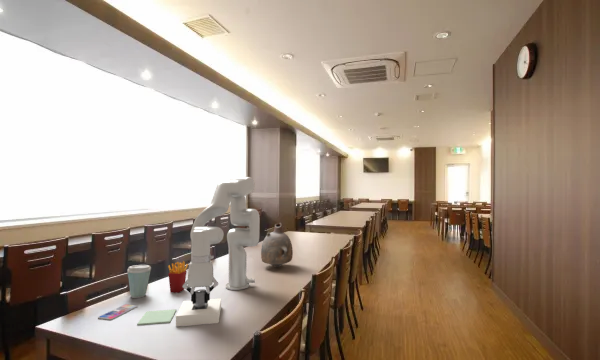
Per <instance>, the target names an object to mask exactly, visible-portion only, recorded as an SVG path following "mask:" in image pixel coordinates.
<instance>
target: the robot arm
mask: <svg viewBox="0 0 600 360" xmlns="http://www.w3.org/2000/svg"><path fill="white" fill-rule="evenodd" d="M255 183H256V182H255V180H254V178H252V177H251V176H228V177H224V178H223V179H222V180H221V181H219V182H218V184H217V186H216V187H215V190H214V193H213V197H212V199H211V202H210V204H209V206H207V207H206V208H204V209H203V210H202V211H200V213H199V214H198V215H197V216H196V218H195V220H194V222H193V224H192V227H191V230H190V241H191V247H190V248H191V250H190V251H191V252H190V253H191V254H190V255H191V256H190V257H191V258H190V261H189V263H188V272H187V279H186V280H185V283H184V284H183V286H182V287H183V288H184V290H186V291H187V292H188V293H189V294H190V300H191V302H193V304H195V291H196V290H195V289H196V288H203V287H204V288H205V290H206V303H208V300H210V299H211V292H212V291H214V289H215V288H216V287H218V285H219V282H218V281H217V280H216V278H215V277H214V265H213V261H212V260H213V259H214V255H211V245H216V244H219V243H220V242H222V241H223V240H224V236H225V234H224V230H223V229H222V228H221V227H219V226H209V225H208V226H206V224H207V223H208V222H209V221H211V220H212V219H215V218H218V217H220V216H222V215H224V214H226V213H227V212H228V210H229V207H230V211H229V213H230V214H229V215H230V223H231V225H232V226H238V227H235V228H231V229H229V230H228V232H227V234H226V240H227V246H228V282H227V283H226V284H225V288H226V289H227V290H232V291H239V290H240V291H241V290H244V289H247V288H249V287H250V283H251V284H253V283H256V280H255V279H256V278H248V276H247V255H248V254H247V251H246V249H245V247H256V246H257V245H258V244H259V243H260V213H259V211H258V210H257V209H256V208H247V198H246V196H248V195H250V194H251V193H253V191H254V190H255ZM241 227H243V228H241ZM244 227H245V228H244ZM246 227H248V228H246Z"/></svg>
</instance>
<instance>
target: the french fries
mask: <svg viewBox="0 0 600 360" xmlns="http://www.w3.org/2000/svg"><path fill="white" fill-rule="evenodd" d="M167 268H168V271H169V273H167V274H168V282H169V284H168V285H169V292H170V293H174V294H175V293H176V294H180V293H181V292H183V291H185V289H184V288H183V287H182V286H183V284H184V283H185V282H186V280H187V279H186V278H187V273H188V272H187V269H188V268H189V263H186V262H185V261H184V260H183V261H182V262H179V261H176V262H175V263H171V265H170V264H169V265H168V266H167Z"/></svg>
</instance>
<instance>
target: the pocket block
mask: <svg viewBox="0 0 600 360" xmlns="http://www.w3.org/2000/svg"><path fill="white" fill-rule="evenodd" d="M221 310H222V298H221V297H220V298H210V300H208V303H206V309H198V310H195V304H193V302H191V299H190V300H183V301H182V303H181V305H180V307H179V309H178V312H177V314H176V315H175V327H184V326H186V327H187V326H197V325H211V324H219V322H220V317H221V316H220V315H221Z"/></svg>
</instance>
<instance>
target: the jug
mask: <svg viewBox="0 0 600 360" xmlns="http://www.w3.org/2000/svg"><path fill="white" fill-rule="evenodd" d="M260 249H261V250H260V256H261V257H260V258H261V261H262V263H265V264H267V265H268V264H269V265H271V266H273V267H274V268H279V267H281V266H283V265H286V264H287V263H290V262H292V261H293V253H294V252H293V245H292V241H291V239H290V236H288V234H286V233H284V232H283V225H282V222H279V223H275V224H274V228H273V231H271V232H267V233H266V235H265V237H264V239H263V241H262V244H261V248H260Z"/></svg>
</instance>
